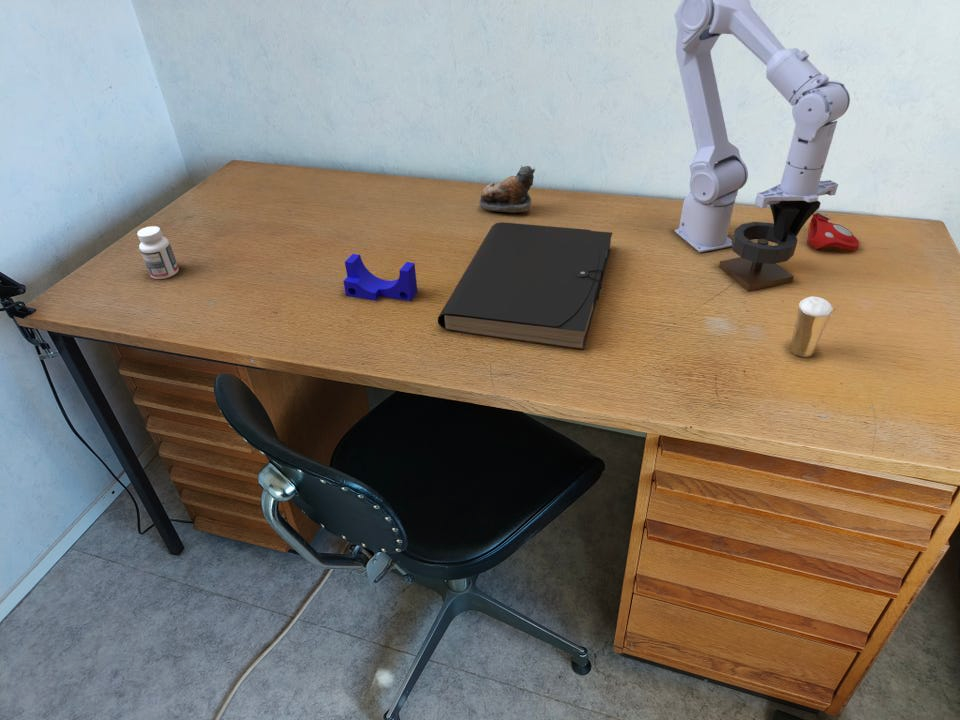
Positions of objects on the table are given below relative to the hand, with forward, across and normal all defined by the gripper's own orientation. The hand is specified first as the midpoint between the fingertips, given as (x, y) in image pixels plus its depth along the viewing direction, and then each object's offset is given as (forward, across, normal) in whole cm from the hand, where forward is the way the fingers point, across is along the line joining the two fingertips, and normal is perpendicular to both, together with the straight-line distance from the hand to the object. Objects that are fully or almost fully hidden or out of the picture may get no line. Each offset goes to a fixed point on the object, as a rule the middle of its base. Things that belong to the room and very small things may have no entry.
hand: (784, 238), depth 116 cm
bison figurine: (+7, -37, +41) cm, 56 cm away
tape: (+1, -4, 0) cm, 4 cm away
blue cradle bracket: (+7, -69, +17) cm, 72 cm away
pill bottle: (+7, -107, +39) cm, 114 cm away
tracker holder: (+7, +17, +6) cm, 19 cm away
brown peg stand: (+6, -4, 0) cm, 8 cm away
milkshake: (+7, -11, -22) cm, 26 cm away
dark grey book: (+7, -43, +10) cm, 45 cm away
